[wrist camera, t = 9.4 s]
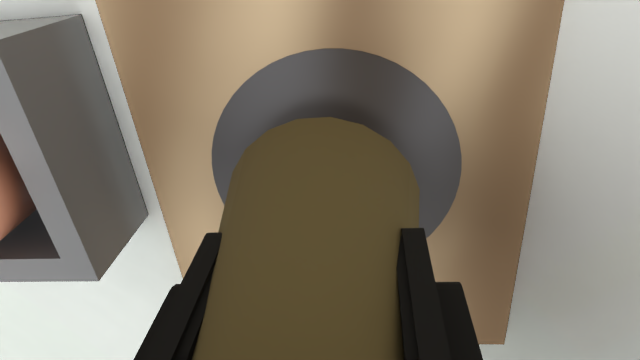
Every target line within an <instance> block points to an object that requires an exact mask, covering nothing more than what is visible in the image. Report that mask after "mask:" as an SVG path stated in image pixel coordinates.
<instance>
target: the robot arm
mask: <svg viewBox="0 0 640 360" xmlns="http://www.w3.org/2000/svg"><path fill="white" fill-rule="evenodd" d="M401 232H402V235H401V237H400V244H399V252H398V259H397V267H396V268H397V280H398V292H399V303H400V315H401V327H402V339H403V351H404V360H483V358H482V355H481V351H480V347H479V344H478V340H477V337H476V333H475V330H474V326H473V323H472V319H471V316H470V312H469V308H468V305H467V301H466V298H465V294H464V291H463V288H462V285H461V283H460V282H435V278H434V273H433V268H432V264H431V259H430V254H429V249H428V245H427V240H426V235H425V230H424V228H401ZM221 238H222V232H214V233H206V235H205V236H204V238H203V240H202V242H201V244H200V246H199V248H198V250H197V252H196V254H195V256H194V258H193V260H192V262H191V264H190V266H189V268H188V270H187V272H186V274H185V276H184V278H183V280H182V282H181V284H176V285H174V286H173V287H172V288H171V290H170V291H169V293H168V295H167V297H166V299H165V301H164V302H163V304H162V306H161V308H160V310H159V312H158V314H157V316H156V318H155V320H154V322H153V324H152V325H151V327H150V329H149V331H148V333H147V335H146V337H145V339H144V341H143V343H142V345H141V347H140V349H139V350H138V352H137V354H136V356H135V358H134V360H192V357H193V353H194V350H195V346H196V343H197V339H198V335H199V332H200V328H201V325H202V321H203V318H204V314H205V309H206V304H207V299H208V294H209V289H210V284H211V279H212V274H213V269H214V265H215V262H216V259H217V255H218V252H219V248H220V243H221Z"/></svg>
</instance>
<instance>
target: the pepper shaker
mask: <svg viewBox="0 0 640 360" xmlns="http://www.w3.org/2000/svg"><path fill="white" fill-rule="evenodd" d="M419 195H420V189H419V186H418V184H417V181H416V178H415V176H414V173H413V170H412V168H411V165H410V163H409V162H408V161H407V160H406V158H405V157H404V156H403V155H402V154H401V153H400V151H399V150H398V149H397V148H396V147H395V146H394V144H393V143H392V142H391V141H390V140H388V139H386V138H385V137H383V136H381V135H379V134H378V133H376V132H374V131H373V130H371V129H369V128H368V127H366V126H364V125H362V124H358V123H354V122H350V121H345V120H341V119H337V118H333V117H320V118H304V119H296V120H293V121H290V122H288V123H285V124H283V125H280V126H277V127H275V128H272V129H269V130H267V131H266V132H265V133H264V134H263V135H261V136H260V137H259V138H258V139H257V140H255V141H254V142H253V143H252V144H251V145H249V146H248V147H247V148H246V149H245V151H244V153H243V154H242V156H241V158H240V160H239V161H238V163H237V165H236V167H235V168H234V170H233V172H232V176H231V180H230V185H229V189H228V193H227V197H226V201H225V206H224V210H223V214H222V218H221V222H220V227H219V231H218V232H222V238H221V243H220V248H219V252H218V255H217V259H216V262H215V265H214V269H213V274H212V279H211V284H210V289H209V294H208V299H207V304H206V309H205V314H204V318H203V321H202V325H201V328H200V332H199V335H198V339H197V343H196V346H195V350H194V353H193V357H192V360H404V351H403V339H402V327H401V315H400V303H399V292H398V280H397V268H396V267H397V259H398V252H399V244H400V237H401V235H402V232H401V228H419Z"/></svg>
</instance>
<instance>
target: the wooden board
mask: <svg viewBox="0 0 640 360" xmlns="http://www.w3.org/2000/svg"><path fill="white" fill-rule="evenodd" d="M95 1H96V4H97V7H98V10H99V14H100V17H101V20H102V23H103V26H104V30H105V33H106V36H107V39H108V42H109V45H110V49H111V52H112V55H113V58H114V61H115V64H116V68H117V71H118V74H119V77H120V80H121V83H122V87H123V90H124V93H125V96H126V99H127V103H128V106H129V109H130V112H131V115H132V118H133V122H134V125H135V128H136V131H137V134H138V137H139V141H140V144H141V147H142V150H143V153H144V157H145V160H146V163H147V166H148V169H149V172H150V176H151V179H152V182H153V185H154V188H155V191H156V195H157V198H158V201H159V204H160V207H161V210H162V214H163V217H164V220H165V223H166V226H167V230H168V233H169V236H170V239H171V242H172V245H173V249H174V252H175V255H176V258H177V261H178V264H179V268H180V271H181V274H182V277H183V278H184V276H185V274H186V272H187V270H188V268H189V266H190V264H191V262H192V260H193V258H194V256H195V254H196V252H197V250H198V248H199V246H200V244H201V242H202V240H203V238H204V236H205V235H206V233H214V232H218V231H219V227H220V222H221V218H222V214H223V210H224V206H225V201H226V197H227V193H228V189H229V185H230V180H231V176H232V172H233V170H234V168H235V167H236V165H237V163H238V161H239V160H240V158H241V156H242V154H243V153H244V151H245V149H246V148H247V147H248V146H249V145H251V144H252V143H253V142H254V141H255V140H257V139H258V138H259V137H260V136H261V135H263V134H264V133H265V132H266V131H267V130H269V129H272V128H275V127H277V126H280V125H283V124H285V123H288V122H290V121H293V120H296V119H304V118H320V117H333V118H337V119H341V120H345V121H350V122H354V123H358V124H362V125H364V126H366V127H368V128H369V129H371V130H373V131H374V132H376V133H378V134H379V135H381V136H383V137H385V138H386V139H388V140H390V141H391V142H392V143H393V144H394V146H395V147H396V148H397V149H398V150H399V151H400V153H401V154H402V155H403V156H404V157H405V158H406V160H407V161H408V162H409V163H410V165H411V168H412V170H413V173H414V176H415V178H416V181H417V184H418V186H419V189H420V195H419V228H424V230H425V235H426V240H427V245H428V249H429V254H430V259H431V264H432V268H433V273H434V278H435V282H460V283H461V285H462V288H463V291H464V294H465V298H466V301H467V305H468V308H469V312H470V316H471V319H472V323H473V326H474V330H475V333H476V337H477V340H478V344H504V342H505V337H506V331H507V325H508V319H509V314H510V308H511V302H512V297H513V291H514V285H515V279H516V274H517V268H518V262H519V257H520V251H521V245H522V239H523V234H524V228H525V222H526V217H527V211H528V205H529V200H530V194H531V188H532V182H533V177H534V171H535V165H536V160H537V154H538V148H539V142H540V137H541V131H542V125H543V120H544V114H545V108H546V102H547V97H548V91H549V85H550V80H551V74H552V68H553V62H554V57H555V51H556V45H557V40H558V34H559V28H560V22H561V17H562V11H563V5H564V0H95Z"/></svg>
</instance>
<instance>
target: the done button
mask: <svg viewBox="0 0 640 360" xmlns="http://www.w3.org/2000/svg"><path fill="white" fill-rule="evenodd" d="M36 209H37V208H36V206H35V204H34V202H33V200H32V198H31V196H30V194H29V192H28V190H27V188H26V186H25V183H24V181H23V179H22V177H21V175H20V173H19V171H18V169H17V167H16V165H15V163H14V161H13V158H12V156H11V154H10V152H9V150H8V148H7V146H6V144H5V142H4V140H3V138H2V136H1V134H0V241H1V240H2V239H3V238H4V237H5V236H6V235H7V234H9V233H10V232H11V231H12V230H13V229H14V228H16V227H17V226H18V225H19V224H20V223H21V222H23V221H24V220H25V219H26V218H27V217H28V216H29V215H31V214H32V213H33V212H34V211H35V210H36Z"/></svg>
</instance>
